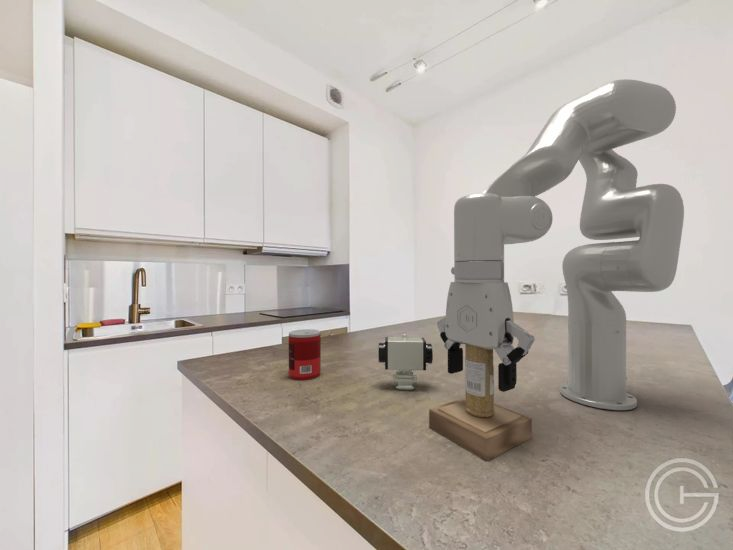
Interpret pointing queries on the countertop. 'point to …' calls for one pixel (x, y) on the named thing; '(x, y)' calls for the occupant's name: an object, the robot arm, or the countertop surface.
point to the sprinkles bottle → (479, 381)
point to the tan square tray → (481, 428)
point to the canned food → (304, 354)
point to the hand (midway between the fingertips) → (479, 380)
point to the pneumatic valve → (405, 359)
